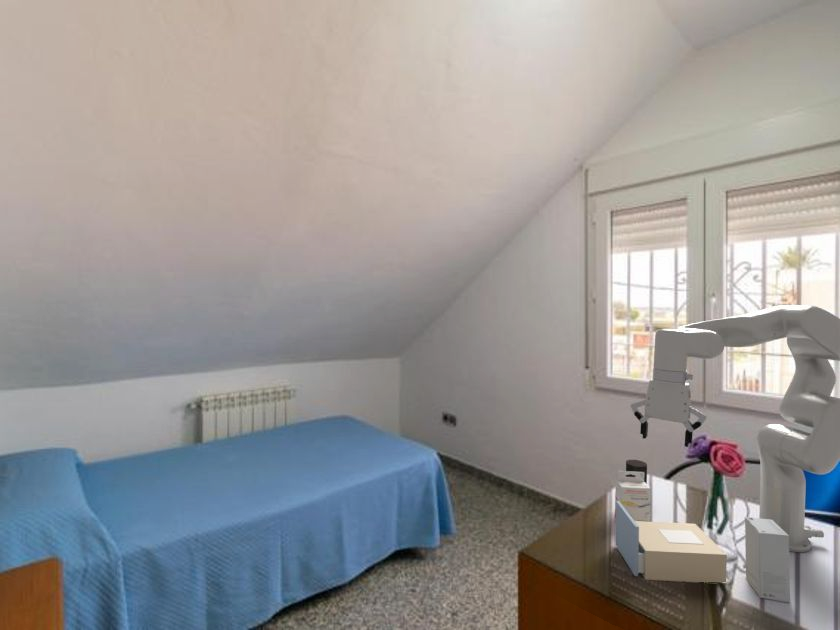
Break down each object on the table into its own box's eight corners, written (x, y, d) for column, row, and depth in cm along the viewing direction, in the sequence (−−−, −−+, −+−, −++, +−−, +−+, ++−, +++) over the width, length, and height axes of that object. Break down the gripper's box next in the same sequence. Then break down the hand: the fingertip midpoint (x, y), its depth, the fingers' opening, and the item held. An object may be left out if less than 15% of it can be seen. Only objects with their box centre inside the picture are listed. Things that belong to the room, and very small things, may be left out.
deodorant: (650, 514, 134) (650, 466, 134) (630, 514, 134) (631, 466, 134) (640, 505, 140) (641, 459, 140) (621, 505, 140) (622, 459, 140)
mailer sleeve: (694, 549, 116) (694, 523, 115) (726, 583, 102) (726, 554, 102) (623, 546, 118) (624, 520, 117) (645, 579, 104) (645, 550, 103)
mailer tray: (684, 548, 116) (685, 503, 115) (712, 580, 102) (713, 530, 102) (615, 544, 117) (616, 500, 117) (634, 575, 104) (635, 526, 104)
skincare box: (790, 604, 95) (792, 537, 95) (758, 598, 97) (759, 532, 96) (772, 580, 103) (774, 518, 103) (742, 575, 105) (744, 514, 104)
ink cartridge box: (620, 526, 128) (620, 476, 127) (614, 517, 133) (615, 470, 132) (650, 527, 127) (651, 477, 126) (643, 519, 132) (644, 471, 131)
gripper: (709, 379, 112) (705, 445, 112) (635, 370, 122) (632, 431, 122) (708, 383, 106) (703, 453, 106) (630, 373, 116) (626, 437, 116)
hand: (665, 441), depth 114 cm, fingers open, 9 cm apart
